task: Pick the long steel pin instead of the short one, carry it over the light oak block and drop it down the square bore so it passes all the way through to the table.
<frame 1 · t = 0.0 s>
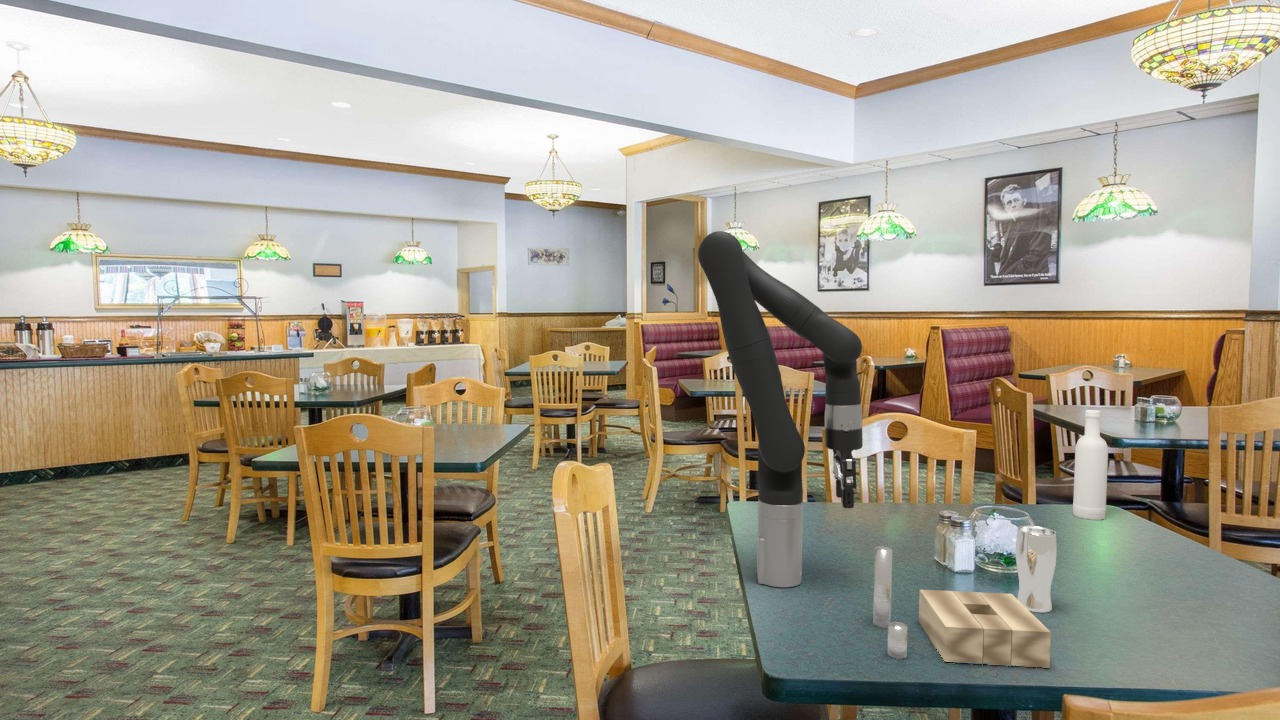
hand: (844, 502, 151), 17 cm above the table, tool pointing down, fingers open, 8 cm apart
oak hole block: (979, 643, 124), on the table
long steel pin: (881, 624, 132), on the table
short steel pin: (897, 654, 120), on the table
bottle: (1088, 517, 203), on the table
beer glass: (1034, 607, 140), on the table
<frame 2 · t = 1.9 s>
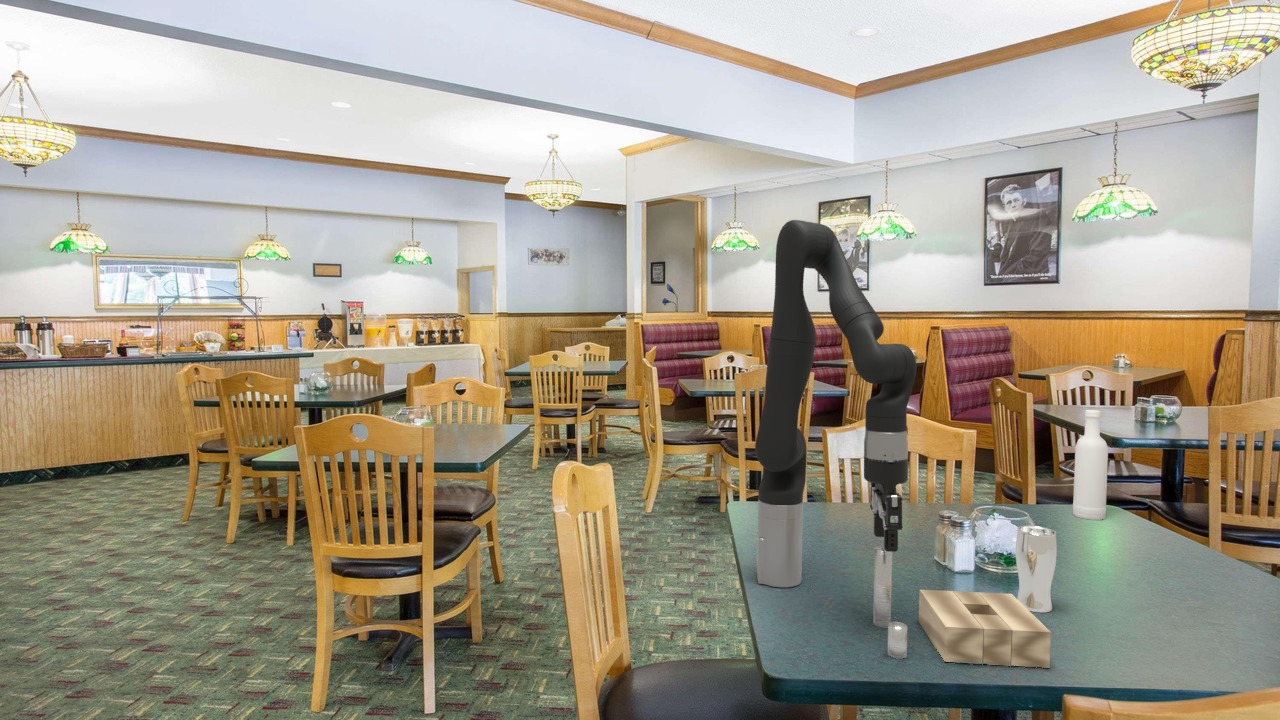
hand: (885, 543, 131), 15 cm above the table, tool pointing down, fingers open, 8 cm apart
nothing on the table moved.
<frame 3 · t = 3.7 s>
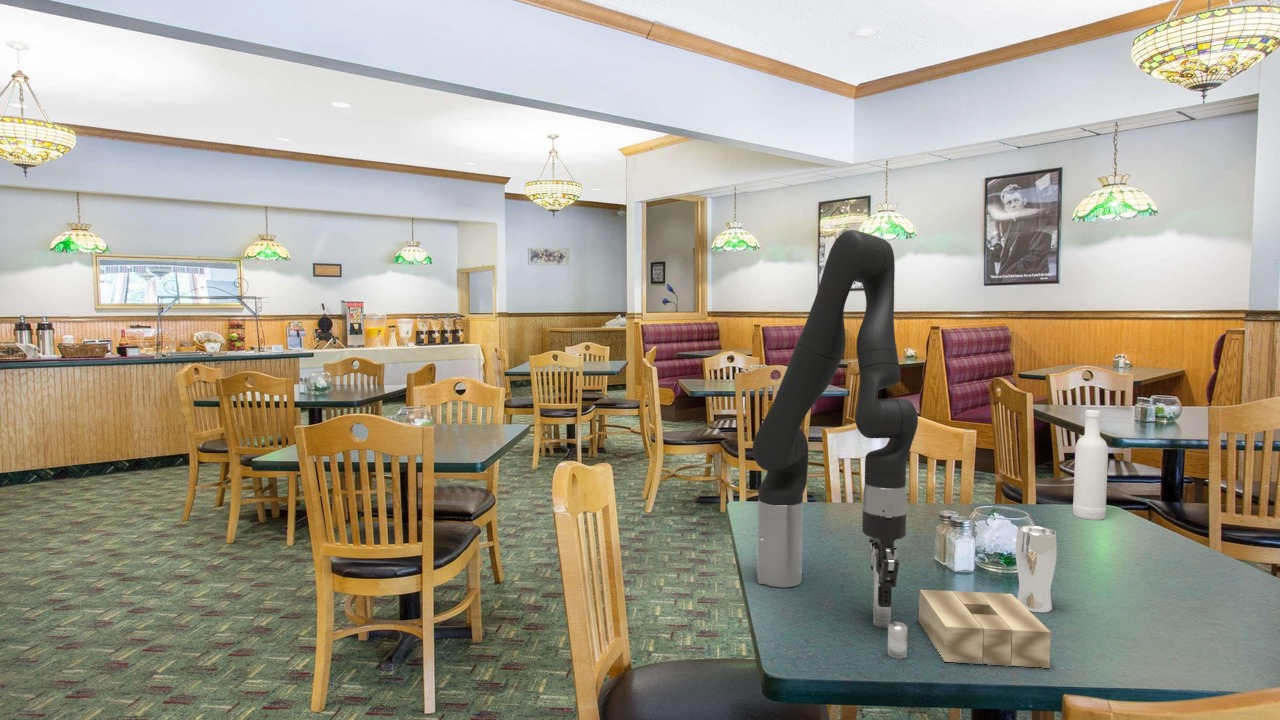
hand: (882, 601, 131), 4 cm above the table, tool pointing down, fingers closed on long steel pin, 3 cm apart
long steel pin: (881, 624, 132), on the table, touching gripper
everything else where it was.
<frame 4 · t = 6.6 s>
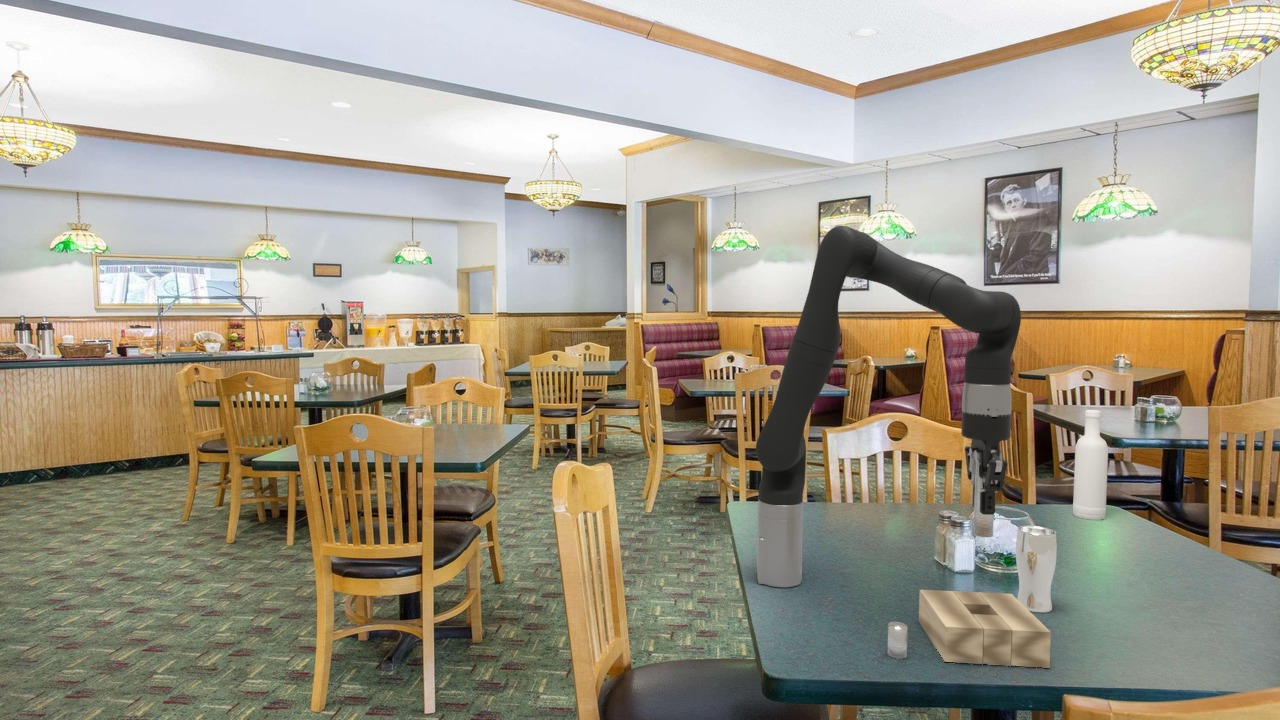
hand: (983, 510, 123), 23 cm above the table, tool pointing down, fingers closed on long steel pin, 3 cm apart
long steel pin: (983, 534, 123), point 19 cm above the table, touching gripper
everything else where it was.
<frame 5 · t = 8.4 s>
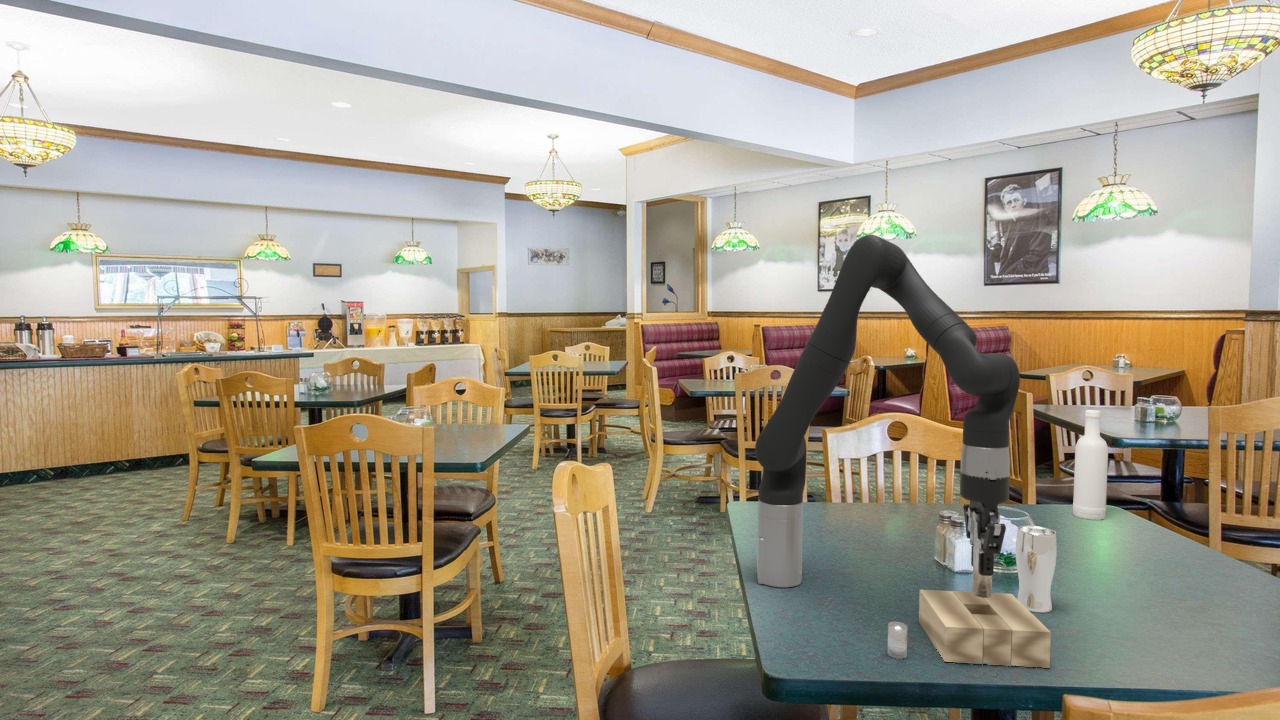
hand: (982, 570, 123), 13 cm above the table, tool pointing down, fingers closed on long steel pin, 3 cm apart
long steel pin: (981, 594, 123), point 9 cm above the table, touching gripper
everything else where it was.
when the fingers open (8 cm above the table, at t = 9.6 s): long steel pin drops 4 cm, resting in oak hole block.
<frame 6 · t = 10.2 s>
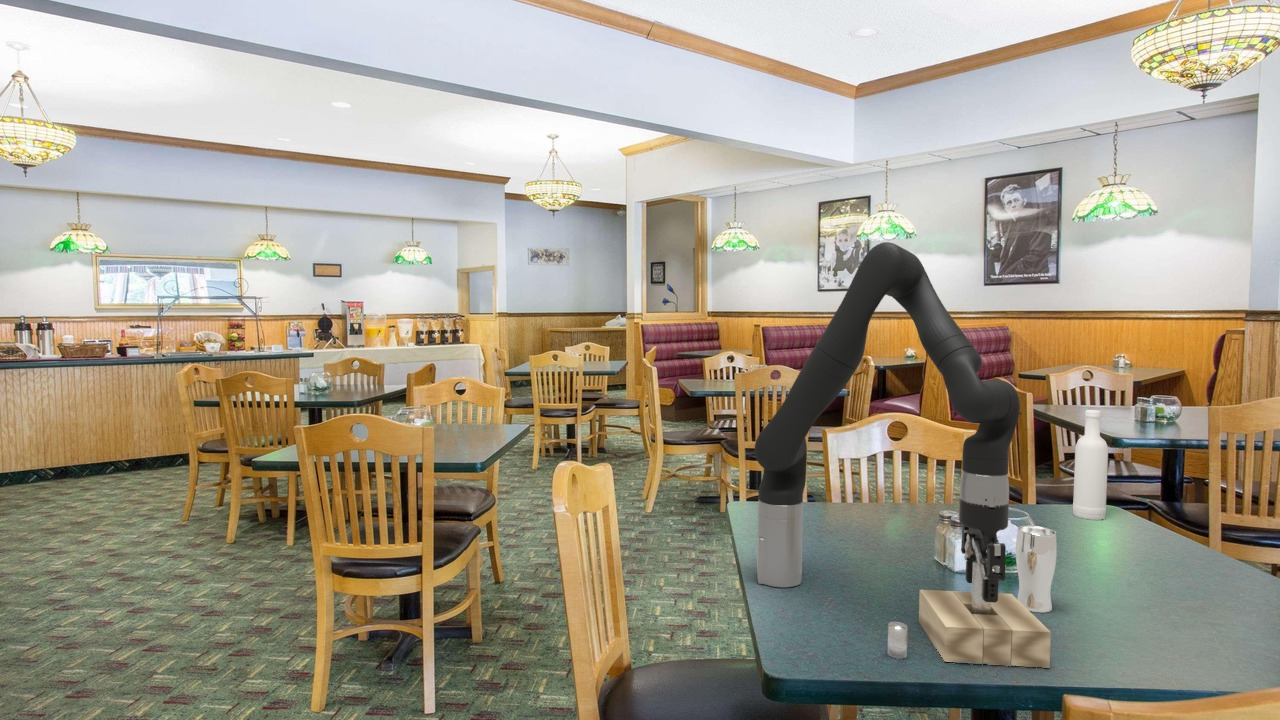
hand: (981, 591, 123), 9 cm above the table, tool pointing down, fingers open, 8 cm apart
long steel pin: (979, 643, 124), resting in oak hole block
everything else where it was.
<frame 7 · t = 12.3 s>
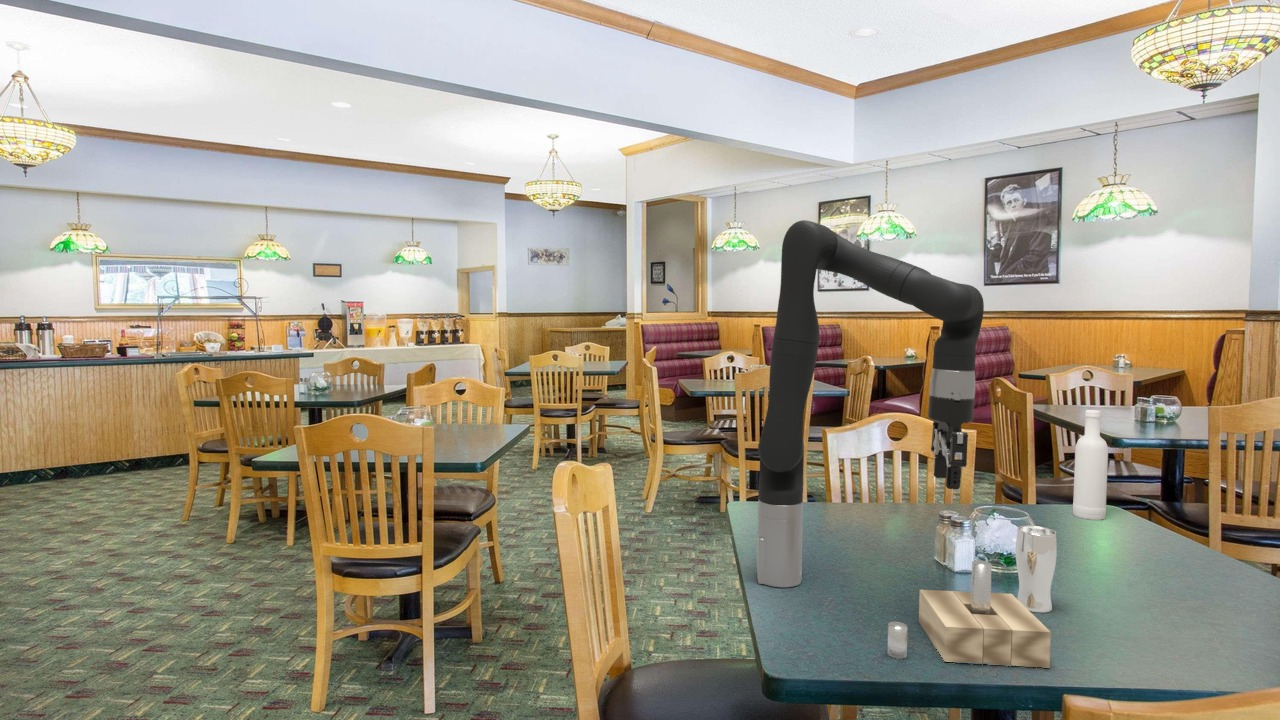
hand: (946, 483, 131), 26 cm above the table, tool pointing down, fingers open, 8 cm apart
nothing on the table moved.
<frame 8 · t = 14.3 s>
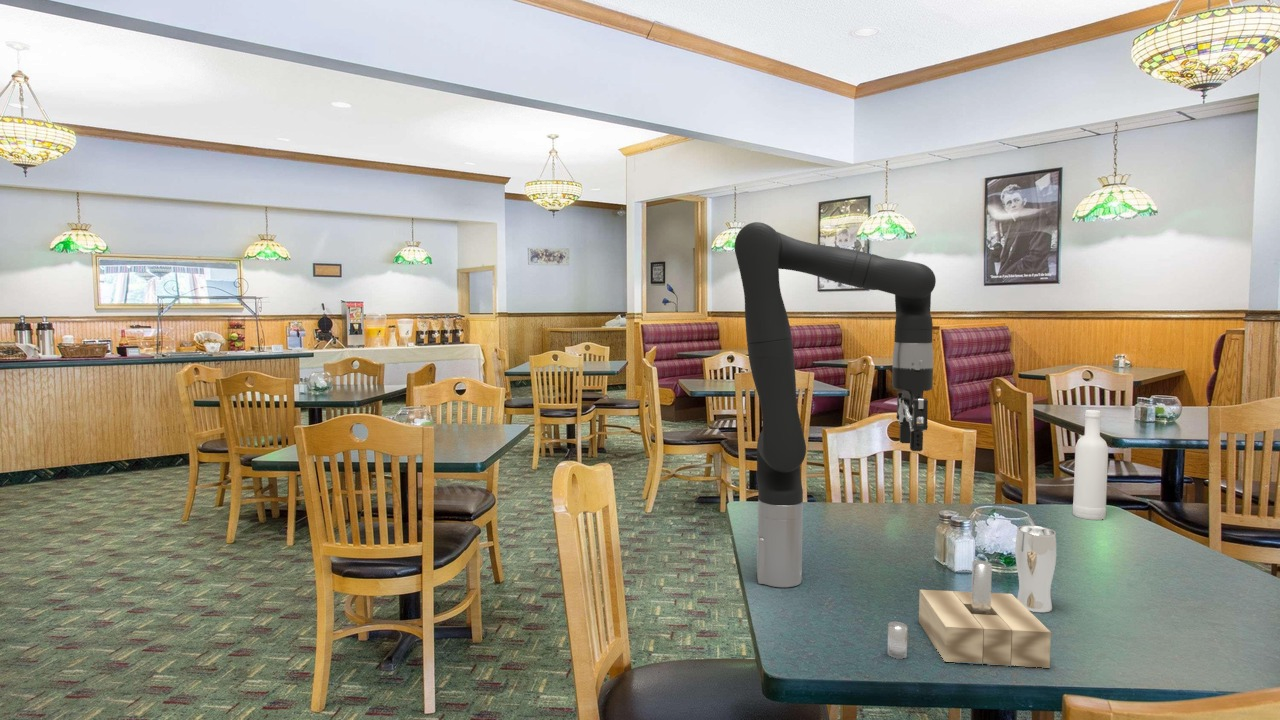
hand: (910, 446, 144), 30 cm above the table, tool pointing down, fingers open, 8 cm apart
nothing on the table moved.
at the end: long steel pin 0.1 cm off-centre on the oak hole block, point 0.0 cm above the oak hole block's base; long steel pin tilted 0°; short steel pin moved 0.0 cm from its start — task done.
